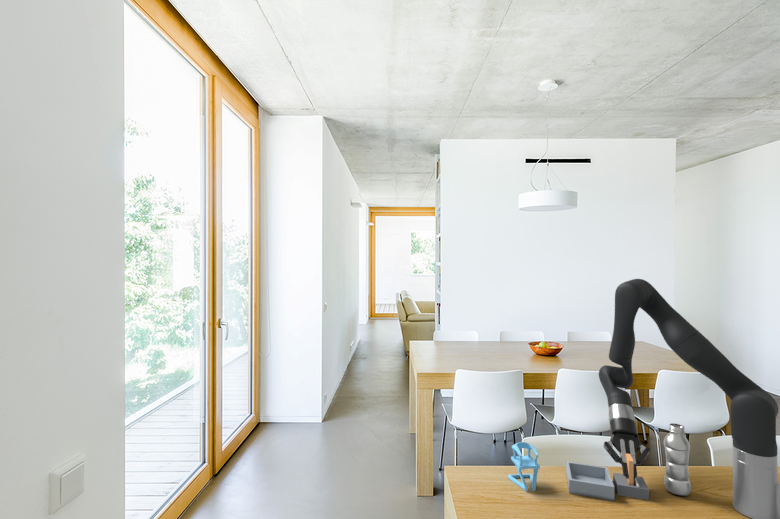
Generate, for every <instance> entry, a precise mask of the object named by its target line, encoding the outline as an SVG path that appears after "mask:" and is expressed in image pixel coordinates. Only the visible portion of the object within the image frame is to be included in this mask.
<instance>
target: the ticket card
mask: <svg viewBox="0 0 780 519" xmlns="http://www.w3.org/2000/svg"><path fill="white" fill-rule="evenodd" d="M626 460H627V467H628V474H629V478H628V479H627V478H626V479H627V482H628V484H629V485H632V486H634V461H633V459H632V457H631V454H627V453H626Z"/></svg>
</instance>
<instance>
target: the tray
mask: <svg viewBox="0 0 780 519" xmlns="http://www.w3.org/2000/svg"><path fill="white" fill-rule="evenodd" d="M565 476H566V482H567V487H568V488H567V489H568V493H569V494H572V495H578V496H584V497H590V498H595V499H601V500H606V501H612V502H615V486H614V483H613V478H612V477H611V473H610V471H609V469H608V467H607V466H601V465H595V464H589V463H581V462H576V461H575V462H574V461H568V460H566V461H565Z"/></svg>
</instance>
